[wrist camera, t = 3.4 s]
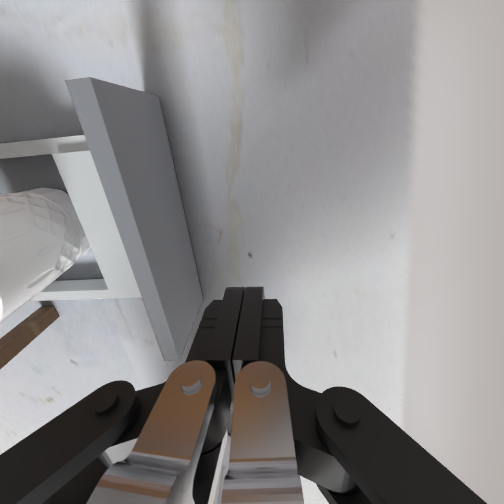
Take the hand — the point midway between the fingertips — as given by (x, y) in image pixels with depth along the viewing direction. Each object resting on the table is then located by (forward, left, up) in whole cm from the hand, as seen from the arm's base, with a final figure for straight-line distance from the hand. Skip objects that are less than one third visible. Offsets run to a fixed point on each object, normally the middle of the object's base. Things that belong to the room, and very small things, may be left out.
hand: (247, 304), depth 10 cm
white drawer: (+14, +9, -12) cm, 20 cm away
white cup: (+16, +10, -13) cm, 22 cm away
